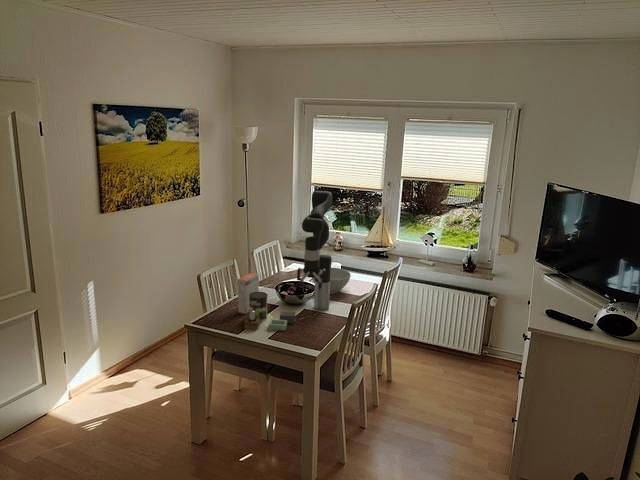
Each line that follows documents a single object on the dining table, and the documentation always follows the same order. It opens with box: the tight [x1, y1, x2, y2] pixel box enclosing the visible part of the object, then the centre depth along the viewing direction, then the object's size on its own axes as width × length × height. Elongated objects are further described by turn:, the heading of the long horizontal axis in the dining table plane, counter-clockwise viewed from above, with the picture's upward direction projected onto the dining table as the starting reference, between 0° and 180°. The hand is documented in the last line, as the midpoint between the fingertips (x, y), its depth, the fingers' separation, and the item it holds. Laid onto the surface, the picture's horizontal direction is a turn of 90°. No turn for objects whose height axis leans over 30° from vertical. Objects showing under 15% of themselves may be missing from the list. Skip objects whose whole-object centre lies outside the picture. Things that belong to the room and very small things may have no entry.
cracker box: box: [237, 272, 260, 315], centre depth 273 cm, size 14×6×21 cm, turn 155°
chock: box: [279, 310, 296, 324], centre depth 262 cm, size 6×8×4 cm
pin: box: [250, 310, 255, 322], centre depth 252 cm, size 3×3×9 cm
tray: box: [268, 318, 288, 331], centre depth 253 cm, size 7×9×3 cm
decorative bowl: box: [310, 266, 351, 295], centre depth 311 cm, size 27×27×12 cm
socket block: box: [244, 316, 261, 331], centre depth 253 cm, size 7×7×4 cm
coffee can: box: [248, 291, 269, 322], centre depth 263 cm, size 10×10×14 cm
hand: (310, 288), depth 235 cm, fingers open, 8 cm apart
